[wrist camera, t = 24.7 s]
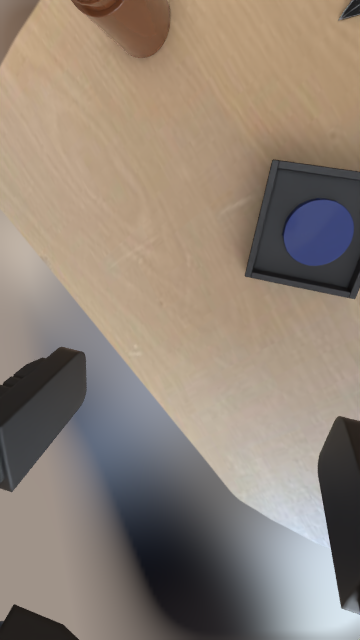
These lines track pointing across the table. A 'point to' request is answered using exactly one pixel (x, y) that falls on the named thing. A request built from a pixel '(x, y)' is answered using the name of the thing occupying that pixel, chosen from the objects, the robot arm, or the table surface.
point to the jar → (130, 22)
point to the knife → (351, 10)
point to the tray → (278, 202)
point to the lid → (318, 231)
